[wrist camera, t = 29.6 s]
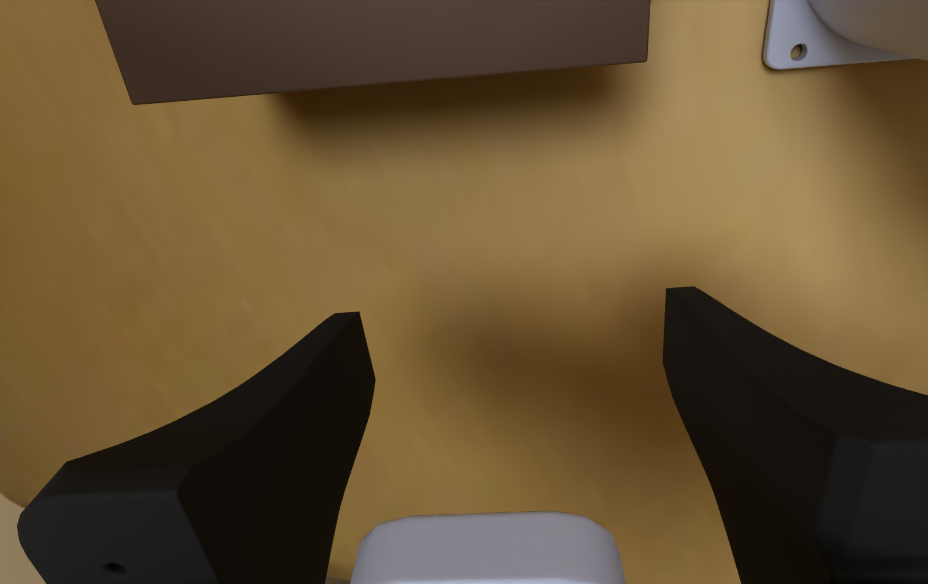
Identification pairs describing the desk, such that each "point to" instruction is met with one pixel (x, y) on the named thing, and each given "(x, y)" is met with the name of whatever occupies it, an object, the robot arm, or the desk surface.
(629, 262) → the desk surface
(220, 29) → the cabinet
